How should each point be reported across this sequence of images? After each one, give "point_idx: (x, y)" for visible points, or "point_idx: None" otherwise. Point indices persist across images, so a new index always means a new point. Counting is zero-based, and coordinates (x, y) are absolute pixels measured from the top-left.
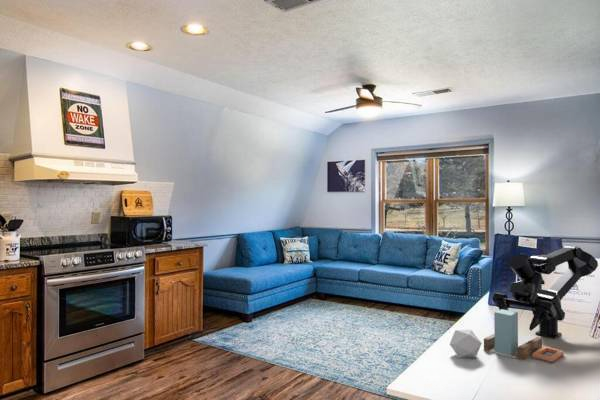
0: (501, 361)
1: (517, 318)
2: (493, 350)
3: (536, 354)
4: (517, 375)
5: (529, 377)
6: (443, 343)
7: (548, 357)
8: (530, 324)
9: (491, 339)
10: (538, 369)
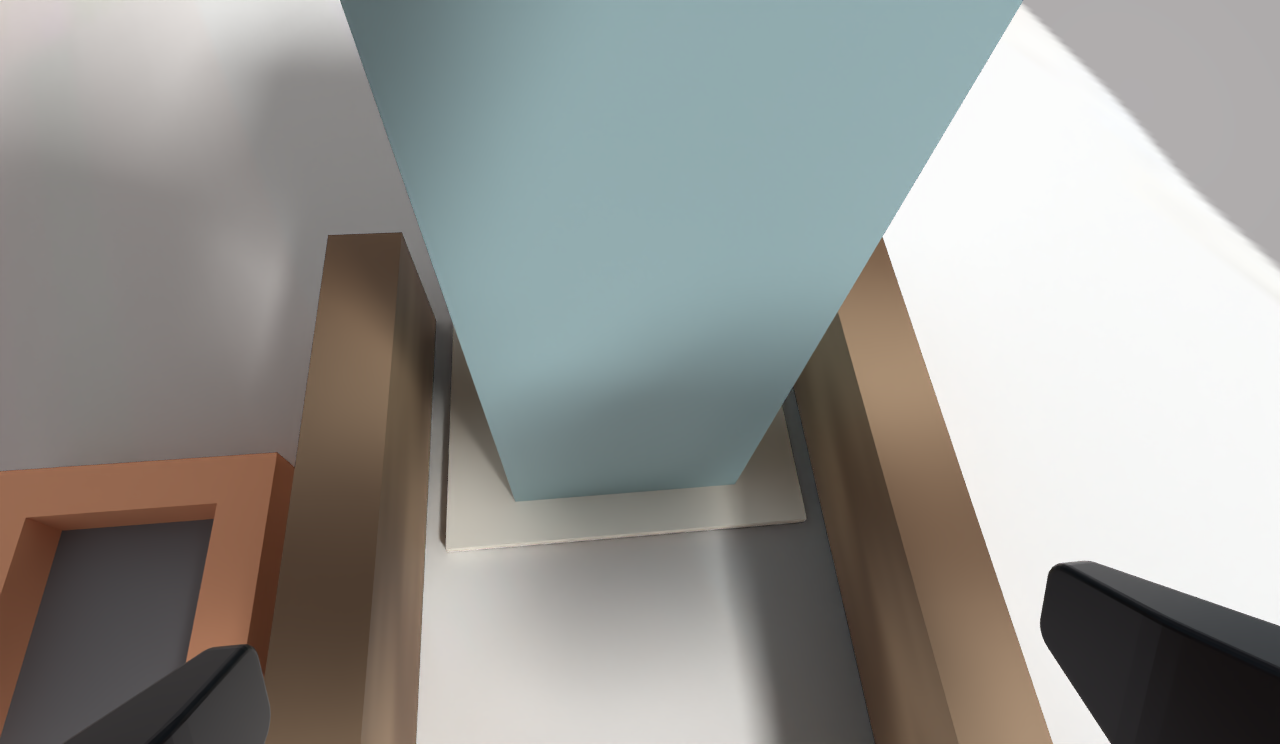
0: None
1: (384, 104)
2: None
3: (220, 460)
4: (290, 26)
5: (197, 49)
6: (1137, 162)
7: (42, 470)
8: (162, 732)
9: None
10: (164, 229)
